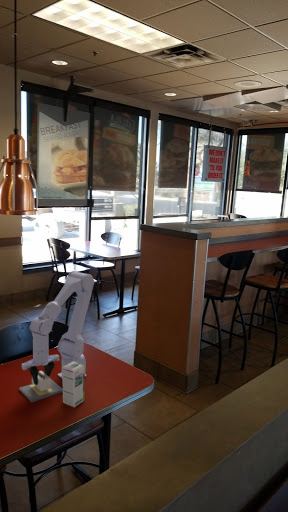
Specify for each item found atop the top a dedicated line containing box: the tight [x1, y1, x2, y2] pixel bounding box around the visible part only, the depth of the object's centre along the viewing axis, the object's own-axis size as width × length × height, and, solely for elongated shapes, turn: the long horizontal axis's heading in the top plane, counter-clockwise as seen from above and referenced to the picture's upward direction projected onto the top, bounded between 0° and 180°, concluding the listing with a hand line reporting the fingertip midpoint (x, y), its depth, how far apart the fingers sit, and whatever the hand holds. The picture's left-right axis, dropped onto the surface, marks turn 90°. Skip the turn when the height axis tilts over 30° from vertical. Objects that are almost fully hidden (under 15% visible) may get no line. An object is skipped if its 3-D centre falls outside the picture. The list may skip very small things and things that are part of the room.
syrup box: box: [61, 361, 85, 408], centre depth 146 cm, size 6×6×14 cm
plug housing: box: [31, 370, 52, 391], centre depth 153 cm, size 4×8×5 cm, turn 40°
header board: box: [19, 378, 63, 403], centre depth 154 cm, size 13×11×4 cm
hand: (41, 382), depth 154 cm, fingers closed on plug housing, 4 cm apart
